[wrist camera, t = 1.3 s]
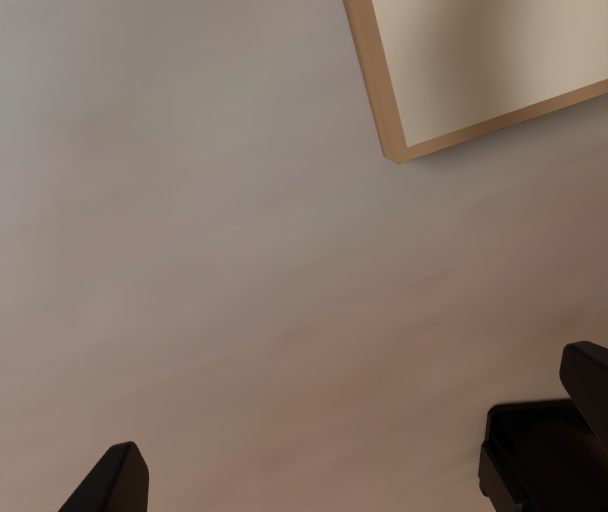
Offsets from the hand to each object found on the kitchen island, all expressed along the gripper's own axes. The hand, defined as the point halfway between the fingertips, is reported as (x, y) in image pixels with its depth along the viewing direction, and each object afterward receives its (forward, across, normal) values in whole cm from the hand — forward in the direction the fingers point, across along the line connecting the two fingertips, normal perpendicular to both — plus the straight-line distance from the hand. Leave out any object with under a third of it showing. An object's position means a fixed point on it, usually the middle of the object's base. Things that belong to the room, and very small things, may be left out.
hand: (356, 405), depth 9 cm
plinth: (+12, -8, -7) cm, 16 cm away
